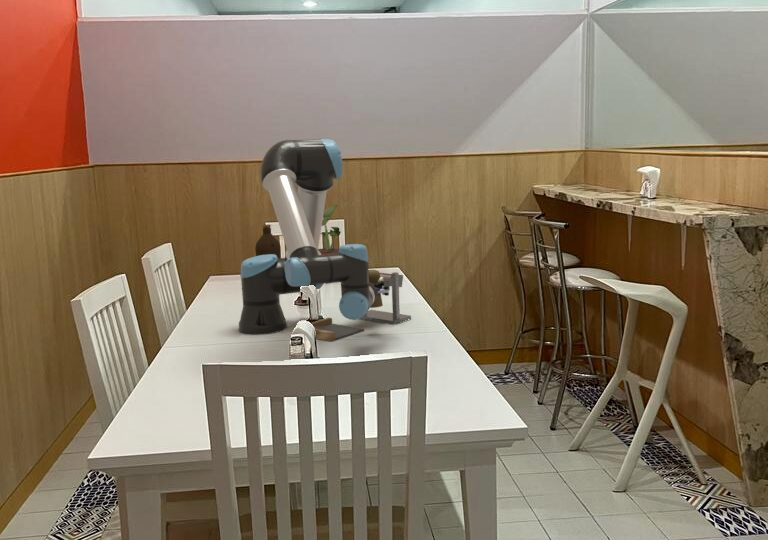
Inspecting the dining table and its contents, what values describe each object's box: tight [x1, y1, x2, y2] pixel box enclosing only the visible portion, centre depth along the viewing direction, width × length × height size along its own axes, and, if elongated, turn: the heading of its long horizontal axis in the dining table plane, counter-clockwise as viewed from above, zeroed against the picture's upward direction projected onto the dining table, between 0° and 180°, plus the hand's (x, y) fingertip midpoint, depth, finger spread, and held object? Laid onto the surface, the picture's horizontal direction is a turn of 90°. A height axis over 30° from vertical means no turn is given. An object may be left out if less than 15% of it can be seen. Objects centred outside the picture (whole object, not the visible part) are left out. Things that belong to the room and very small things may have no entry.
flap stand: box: [358, 271, 412, 325], centre depth 246 cm, size 9×17×16 cm, turn 51°
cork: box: [369, 269, 384, 309], centre depth 226 cm, size 6×6×11 cm
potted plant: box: [318, 204, 342, 255], centre depth 316 cm, size 16×15×35 cm
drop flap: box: [379, 272, 404, 288], centre depth 241 cm, size 19×12×4 cm, turn 142°
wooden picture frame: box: [311, 316, 337, 342], centre depth 231 cm, size 15×14×2 cm
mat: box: [318, 323, 365, 341], centre depth 232 cm, size 13×13×1 cm
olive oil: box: [254, 224, 282, 259], centre depth 316 cm, size 11×11×25 cm
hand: (374, 281), depth 231 cm, fingers closed on cork, 4 cm apart
